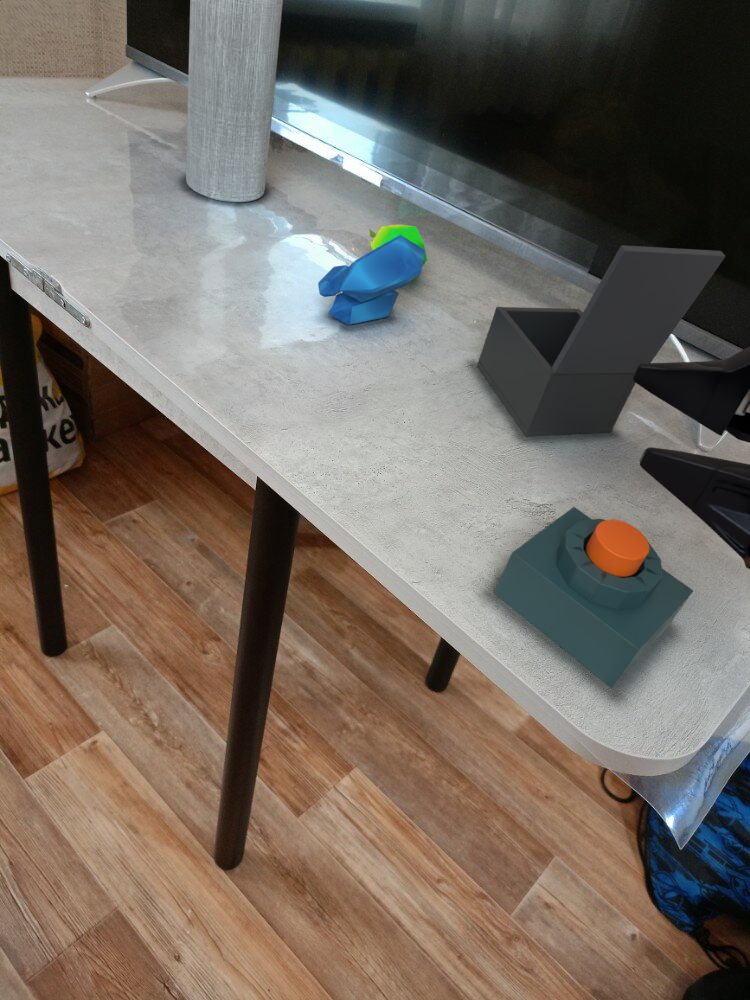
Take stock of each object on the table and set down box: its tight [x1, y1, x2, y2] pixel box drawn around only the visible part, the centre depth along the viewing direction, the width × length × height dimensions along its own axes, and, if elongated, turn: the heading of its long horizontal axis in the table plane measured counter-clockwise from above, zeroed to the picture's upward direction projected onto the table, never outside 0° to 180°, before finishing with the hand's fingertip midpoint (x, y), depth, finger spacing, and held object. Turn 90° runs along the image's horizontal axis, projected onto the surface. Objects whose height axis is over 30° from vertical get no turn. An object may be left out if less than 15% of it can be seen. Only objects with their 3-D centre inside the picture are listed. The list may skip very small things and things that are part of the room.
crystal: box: [317, 235, 426, 326], centre depth 77 cm, size 7×9×12 cm
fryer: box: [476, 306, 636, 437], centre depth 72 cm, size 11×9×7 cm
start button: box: [586, 519, 650, 577], centre depth 49 cm, size 4×4×2 cm
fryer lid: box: [552, 244, 726, 373], centre depth 61 cm, size 12×9×1 cm
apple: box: [368, 223, 428, 268], centre depth 87 cm, size 7×6×9 cm
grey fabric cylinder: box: [185, 0, 284, 203], centre depth 88 cm, size 10×10×27 cm
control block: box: [493, 506, 694, 689], centre depth 52 cm, size 10×8×6 cm
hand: (638, 410), depth 43 cm, fingers open, 9 cm apart
